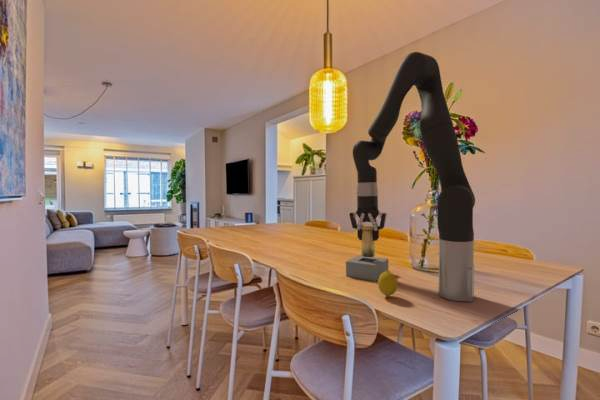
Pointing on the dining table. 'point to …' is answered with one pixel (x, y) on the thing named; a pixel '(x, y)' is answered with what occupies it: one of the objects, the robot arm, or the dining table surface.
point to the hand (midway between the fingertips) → (368, 239)
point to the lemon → (387, 283)
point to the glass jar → (368, 241)
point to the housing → (366, 267)
